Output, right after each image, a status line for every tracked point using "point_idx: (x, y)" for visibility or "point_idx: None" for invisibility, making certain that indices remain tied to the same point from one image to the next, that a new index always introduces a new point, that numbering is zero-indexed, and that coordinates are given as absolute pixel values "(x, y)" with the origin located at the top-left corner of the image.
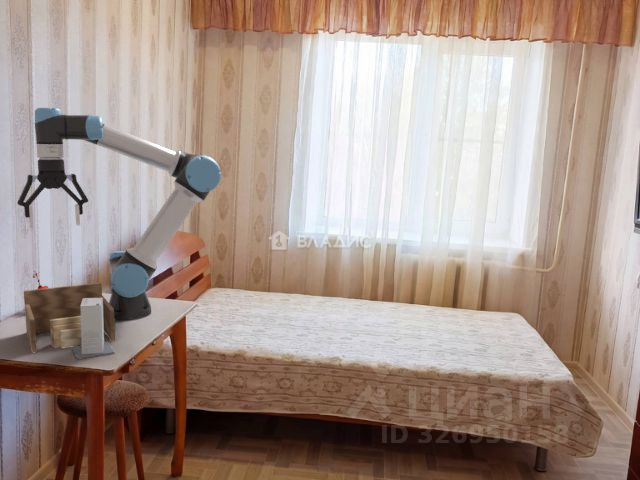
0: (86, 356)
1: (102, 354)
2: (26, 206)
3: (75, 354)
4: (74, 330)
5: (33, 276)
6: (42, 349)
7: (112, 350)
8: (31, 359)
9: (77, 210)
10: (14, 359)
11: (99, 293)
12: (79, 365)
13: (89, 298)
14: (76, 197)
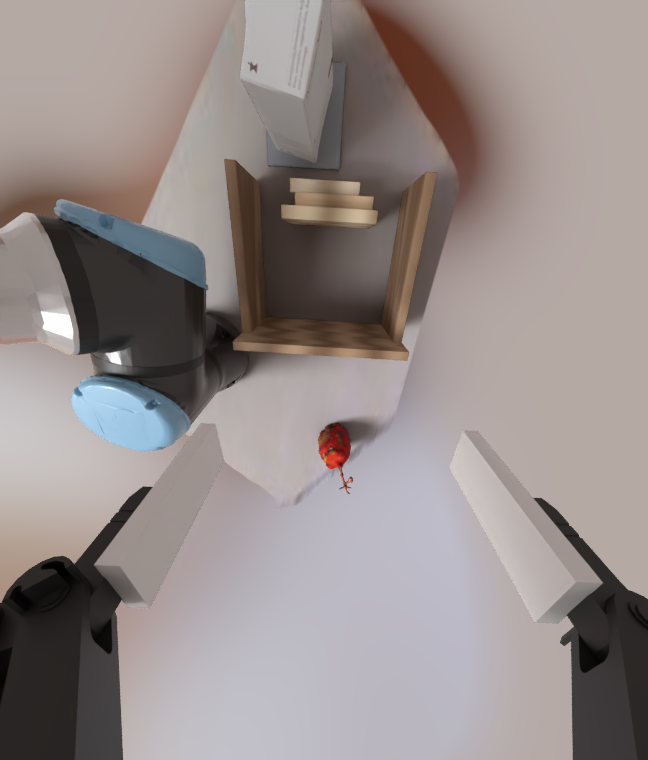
0: None
1: None
2: (639, 601)
3: (342, 112)
4: (330, 181)
5: (351, 479)
6: (389, 206)
7: None
8: (424, 141)
9: (151, 509)
10: (450, 165)
11: (246, 334)
12: (352, 2)
13: (283, 79)
14: (20, 711)
